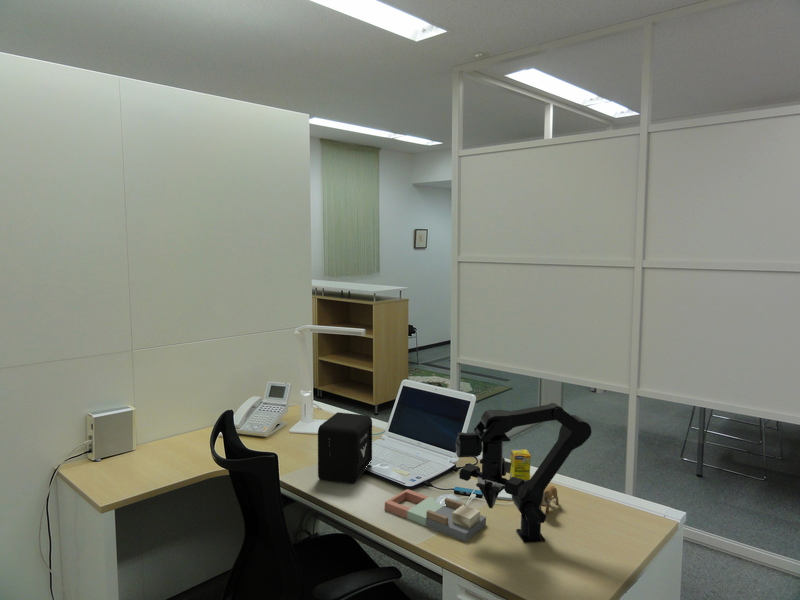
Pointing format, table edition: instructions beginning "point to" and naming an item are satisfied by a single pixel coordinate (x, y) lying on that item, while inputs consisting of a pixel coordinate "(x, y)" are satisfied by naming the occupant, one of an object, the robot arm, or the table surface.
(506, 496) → the external hard drive
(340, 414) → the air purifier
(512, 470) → the supplement box
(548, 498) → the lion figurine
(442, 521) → the board
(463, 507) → the block
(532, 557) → the table surface
